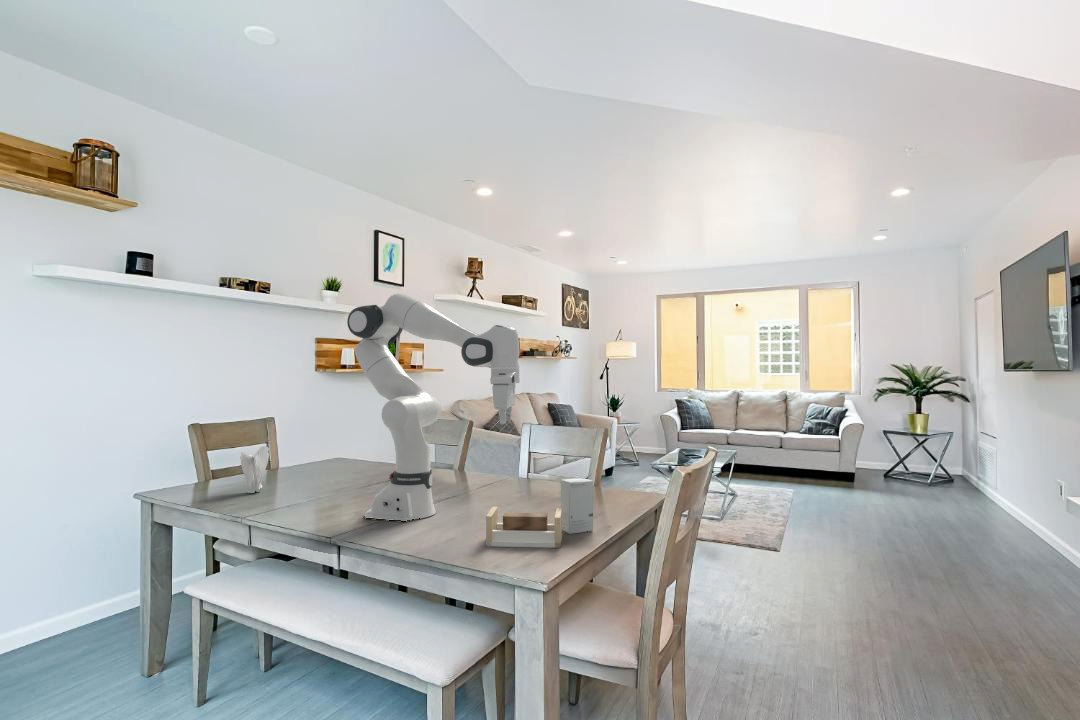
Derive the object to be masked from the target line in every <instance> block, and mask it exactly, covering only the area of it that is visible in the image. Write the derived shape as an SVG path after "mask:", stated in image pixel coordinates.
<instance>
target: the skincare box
mask: <svg viewBox="0 0 1080 720" xmlns="http://www.w3.org/2000/svg"><path fill="white" fill-rule="evenodd" d="M560 508H562V532H565V533H566V534H567V535H575V534H580V533H586V532H587V531H588V532H593V531H594V480H592V479H588V478H585V477H580V478H579V477H577V478H565V479H560Z"/></svg>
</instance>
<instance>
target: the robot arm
mask: <svg viewBox="0 0 1080 720" xmlns="http://www.w3.org/2000/svg"><path fill="white" fill-rule="evenodd" d="M346 322H347V328H348V330H349V331H350V333H351V334H352V335H354V336H356V337H357V338H360V339H361V340H360V341H359V342H358V343H357V345H356V346H355V349H354V355H355V357H356V360H357V362H358V364H359V367H360V368H361V370H362V371H363V373H364V375H365V376H366V378H367V379H368V381H369V382H370V383H371V385H372V386H373V388H374V389H375V390H376V391H377V393H378V394H379V395H380V396H381V397H383V398H385V399H387V400H389V401H387V402H386V403H385V404H384V405H383V407H382V409H381V419H382V422H383V424H384V426H386V427H387V429H388V430H389V431H390V434H391V436H392V441H393V443H394V449H395V470H393V471H392V473H391V474H389V475H388V479H389V480H390V483H389V484H387V485H386V486H385V487H384V488H382V489H381V490H380V491H379V492H378V493H376V495H375V496H374V497H373V500H372V503H371V507H370V508H369V509H368V510H366V511H365V513H364V516H365V517H373V518H382V519H393V520H401V521H406V522H408V521H407V520H410V521H413V520H412V519H414V520H419V518H420V519H425V518H429V517H431V516H433V515H435V514H436V508H435V505H434V500H433V494H432V485H433V473H432V472H433V471H432V469H431V447H430V446H431V445H430V444H429V443H428V442H427V440H426V439H425V436H424V432H423V428H424V427H428V426H430V425H432V424H433V423H435V422H436V421H438V420H439V418H440V417H441V414H442V405H441V403H440V401H439V400H438V399H437V398H436V397H434V396H433V395H431V394H430V393H428V392H427V391H426V390H424V389H423V388H422V387H421V386H420V385H419V384H418V383H416V381H415V380H413V379H412V378H411V376H409V374H407V372H406V371H405V369H404V368H403V367H402V365H401V364H400V363H399V361H398V360H397V359H396V357H395V356H394V355H393V354H392V352H391V351H390V348H389V346H391V345H393V344H394V343H395V341H396V340H397V339H398V337H399V336H400V335H401V334H402V332H403V331H405V332H407V333H408V334H411V335H413V336H416V337H418V338H421V339H425V340H432V341H434V340H435V341H441V342H447V343H451V344H453V345H456V346H458V347H460V348H461V349H460V350H461V352H460V353H461V358H462V360H463V361H464V363H465V364H467V366H471V367H475V368H488V369H489V368H490V378H489V379H490V380H489V381H490V385H492V388H491V389H492V401H493V408H494V410H498V416H499V424H500V425H505V424H506V423H507V422H510V421H511V420H512V409H513V408H512V407H513V406H515V405H516V384H519V383H520V364H519V358H520V340H519V334H518V331H517V329H516V328H514V327H511V326H506V325H500V324H495V325H492V327H491V328H490V329H488V330H487V331H484V332H483V333H480V334H477V333H475V332H473V331H472V330H470V329H467V328H465V327H463V326H461V325H459V324H458V323H456V322H454V321H452V320H451V319H450V318H448V317H447V316H445V315H444V314H442V313H441V312H439V311H438V310H437V309H436V308H434V307H432V306H430V305H429V304H428V303H425V302H423V301H421V300H419V299H417V298H415V297H413V296H410V295H408V294H407V295H406V294H403V293H394V294H392V295H390V296H389V297H388V298H387V300H386V302H385V304H384V305H382V306H378V305H377V304H370V305H362V306H357V307H356V308H353V309H351V311H350V312H349V313H348V316H347V321H346ZM365 517H364V518H365ZM401 521H400V522H401Z"/></svg>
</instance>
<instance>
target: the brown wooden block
mask: <svg viewBox="0 0 1080 720" xmlns="http://www.w3.org/2000/svg"><path fill="white" fill-rule="evenodd" d="M502 523H503V530H517V531H548V525H547V524H548V512H547V513H545V512H544V513H542V512H536V513H535V512H534V513H533V512H504V514H503V515H502Z"/></svg>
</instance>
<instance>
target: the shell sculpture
mask: <svg viewBox="0 0 1080 720" xmlns="http://www.w3.org/2000/svg"><path fill="white" fill-rule="evenodd" d="M269 449H270V448H269V447H268V446H267V445H261V447H259V449H258V450H257V452H256V453H253V454H247V453H246V452H244V451H241V452H240V454H241V455H240V465H241V469H242V472H243V475H244V478H245V479H244V480H245V481H246V488H245V490H246V489H247V490H252V489H254V490H256V489H260V488H262V487H263V488H264V486H263V485H262V480H263V478H264V475H265V473H266V468H267V465H268V464H269V457H270V453H269V451H270V450H269ZM254 487H255V488H254Z"/></svg>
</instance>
